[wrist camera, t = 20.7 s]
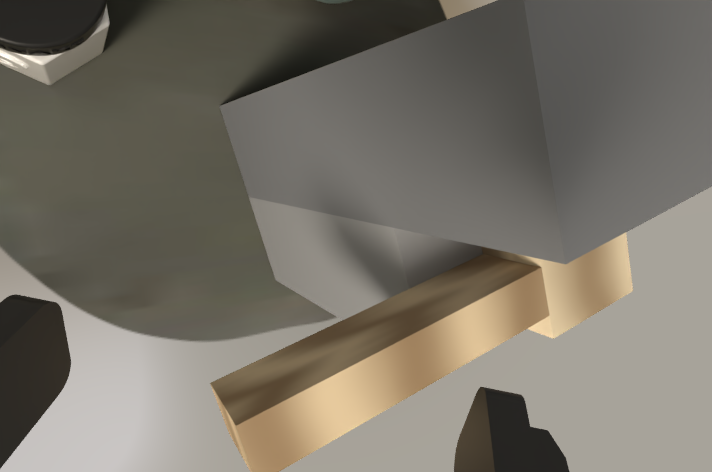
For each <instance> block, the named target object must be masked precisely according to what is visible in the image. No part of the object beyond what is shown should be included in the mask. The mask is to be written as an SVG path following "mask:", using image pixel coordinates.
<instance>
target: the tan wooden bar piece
mask: <svg viewBox="0 0 712 472" xmlns="http://www.w3.org/2000/svg"><path fill="white" fill-rule="evenodd" d="M482 252H483V254H482V255H480V256H477V257H475V258H473V259H471V260H469V261H467V262H465V263H463V264H461V265H458V266H456V267H454V268H452V269H450V270H448V271H446V272H444V273H442V274H439V275H437V276H435V277H433V278H431V279H429V280H427V281H425V282H423V283H420V284H418V285H416V286H414V287H412V288H410V289H408V290H406V291H404V292H401V293H399V294H397V295H395V296H393V297H391V298H389V299H387V300H385V301H382V302H380V303H378V304H376V305H374V306H372V307H370V308H368V309H366V310H363V311H361V312H359V313H357V314H355V315H353V316H351V317H349V318H347V319H344V320H342V321H340V322H338V323H336V324H334V325H332V326H330V327H328V328H326V329H324V330H321V331H319V332H317V333H315V334H313V335H311V336H309V337H307V338H305V339H302V340H300V341H298V342H296V343H294V344H292V345H290V346H288V347H285V348H283V349H281V350H279V351H277V352H275V353H273V354H271V355H268V356H267V357H264V358H262V359H260V360H258V361H256V362H254V363H252V364H249V365H247V366H245V367H243V368H241V369H239V370H237V371H235V372H233V373H230V374H229V375H226V376H224V377H222V378H220V379H218V380H216V381H214V382H212V383H210V384H211V387H212V389H213V392H214V394H215V397H216V400H217V403H218V405H219V408H220V411H221V413H222V416H223V418H224V421H225V424H226V426H227V429H228V431H229V434H230V436H231V437H232V439H233V441H234V443H235V445H236V447H237V448H238V450H239V452H240V453H241V455H242V457H243V459H244V461H245V462H246V464H247V466H248V468H249V470H250V471H251V472H279V471H281V470H282V469H284V468H286V467H287V466H290V465H291V464H293V463H295V462H296V461H298V460H300V459H302V458H303V457H305V456H307V455H309V454H310V453H312V452H314V451H315V450H317V449H319V448H321V447H322V446H324V445H326V444H328V443H329V442H331V441H333V440H334V439H336V438H338V437H340V436H341V435H343V434H345V433H347V432H349V431H350V430H352V429H354V428H356V427H357V426H359V425H361V424H362V423H364V422H366V421H367V420H369V419H371V418H373V417H375V416H376V415H378V414H380V413H381V412H383V411H385V410H386V409H388V408H390V407H392V406H394V405H395V404H397V403H399V402H400V401H402V400H404V399H406V398H408V397H409V396H411V395H413V394H415V393H416V392H418V391H420V390H421V389H423V388H425V387H427V386H428V385H430V384H432V383H434V382H435V381H437V380H439V379H441V378H442V377H444V376H445V375H448V374H449V373H451V372H453V371H454V370H456V369H458V368H460V367H461V366H463V365H465V364H467V363H468V362H470V361H472V360H473V359H475V358H477V357H479V356H480V355H482V354H484V353H486V352H487V351H489V350H491V349H493V348H494V347H496V346H498V345H499V344H501V343H503V342H505V341H507V340H508V339H510V338H512V337H513V336H515V335H517V334H519V333H520V332H522V331H524V330H526V329H529V330H531V331H534V332H537V333H539V334H542V335H545V336H548V337H550V338H553V339H554V338H556V337H557V336H559V335H561V334H562V333H564V332H566V331H567V330H569V329H571V328H572V327H574V326H576V325H577V324H579V323H581V322H582V321H584V320H586V319H587V318H589V317H590V316H592V315H594V314H595V313H597V312H599V311H600V310H602V309H604V308H605V307H607V306H609V305H610V304H612V303H614V302H615V301H617V300H619V299H620V298H622V297H624V296H625V295H627V294H629V293H630V292H632V291H633V287H632V279H631V270H630V262H629V254H628V246H627V237H626V232H625V233H624V234H622V235H620V236H618V237H616V238H614V239H612V240H611V241H609V242H607V243H605V244H603V245H601V246H599V247H597V248H596V249H594V250H592V251H590V252H588V253H586V254H584V255H583V256H581V257H579V258H577V259H575V260H573V261H571V262H570V263H568V264H561V263H557V262H552V261H547V260H543V259H538V258H533V257H528V256H524V255H519V254H514V253H510V252H505V251H500V250H496V249H491V248H486V247H482Z"/></svg>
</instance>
